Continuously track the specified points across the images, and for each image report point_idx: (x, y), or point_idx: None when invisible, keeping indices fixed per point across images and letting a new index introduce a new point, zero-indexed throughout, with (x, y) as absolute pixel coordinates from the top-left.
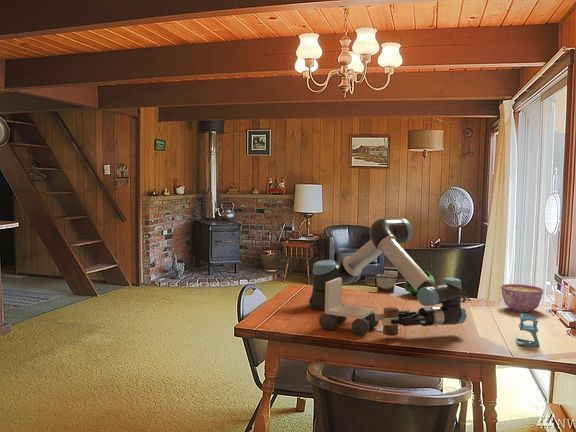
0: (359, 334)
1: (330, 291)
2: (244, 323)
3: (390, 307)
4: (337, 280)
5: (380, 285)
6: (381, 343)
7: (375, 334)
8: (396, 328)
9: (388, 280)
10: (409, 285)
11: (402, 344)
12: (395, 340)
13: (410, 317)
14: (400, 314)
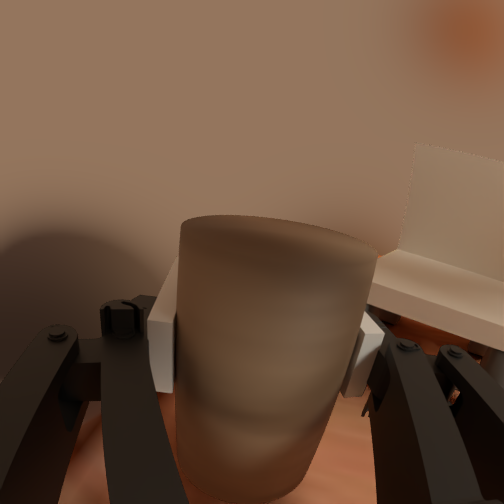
0: None
1: (426, 181)
2: (381, 256)
3: (374, 252)
4: (492, 163)
5: None
6: (171, 402)
7: (356, 435)
8: (179, 427)
9: None
10: None
11: (96, 488)
12: (204, 501)
13: (110, 495)
14: (410, 443)
